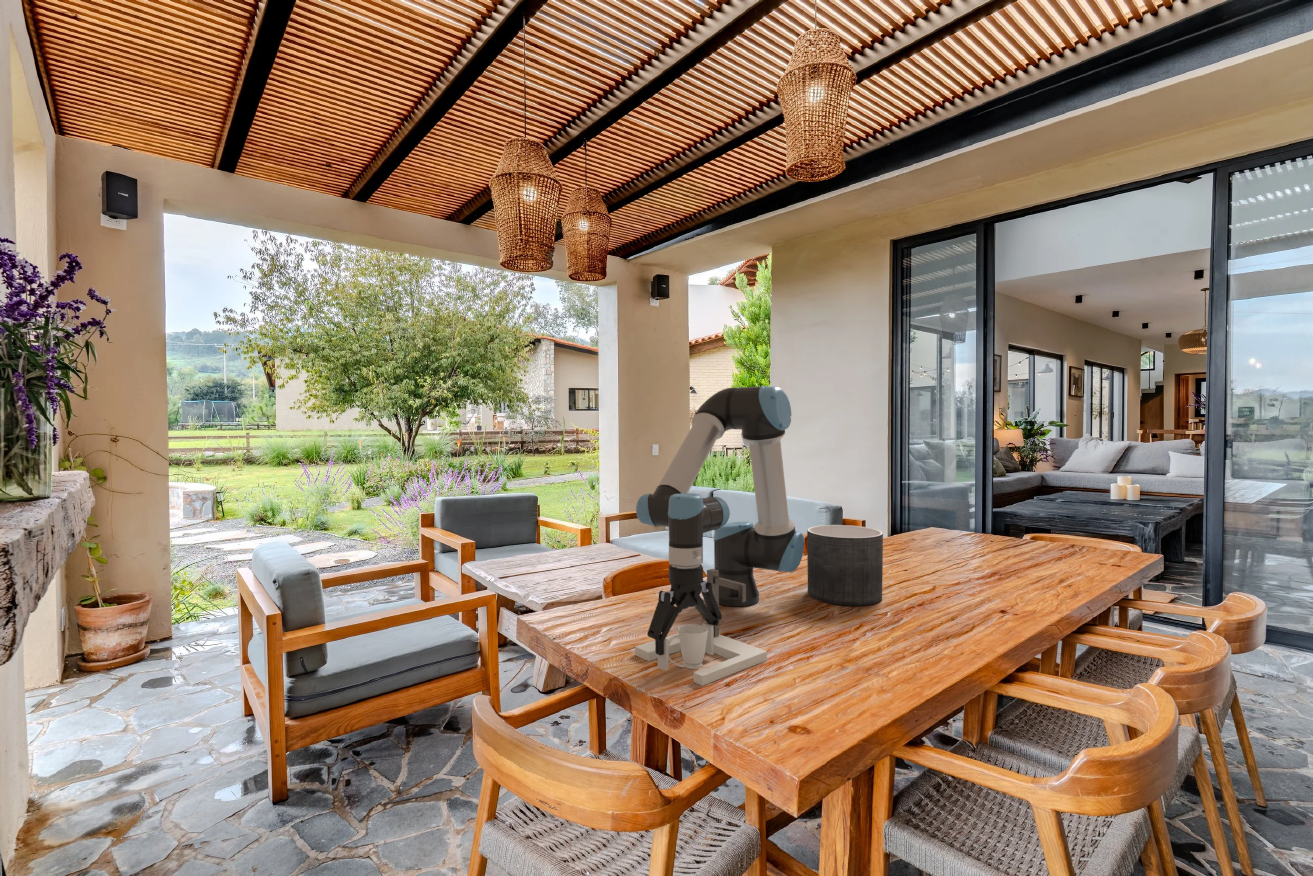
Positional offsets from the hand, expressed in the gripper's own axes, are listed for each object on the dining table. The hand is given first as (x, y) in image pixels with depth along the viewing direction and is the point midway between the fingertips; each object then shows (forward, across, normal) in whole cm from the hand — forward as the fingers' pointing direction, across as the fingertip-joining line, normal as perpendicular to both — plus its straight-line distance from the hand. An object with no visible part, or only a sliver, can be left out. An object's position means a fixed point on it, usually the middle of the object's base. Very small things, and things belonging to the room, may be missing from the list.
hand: (686, 660), depth 135 cm
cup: (+1, 0, 0) cm, 1 cm away
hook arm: (-1, +14, +1) cm, 14 cm away
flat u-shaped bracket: (+1, +6, +2) cm, 6 cm away
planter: (+2, +74, +8) cm, 74 cm away
